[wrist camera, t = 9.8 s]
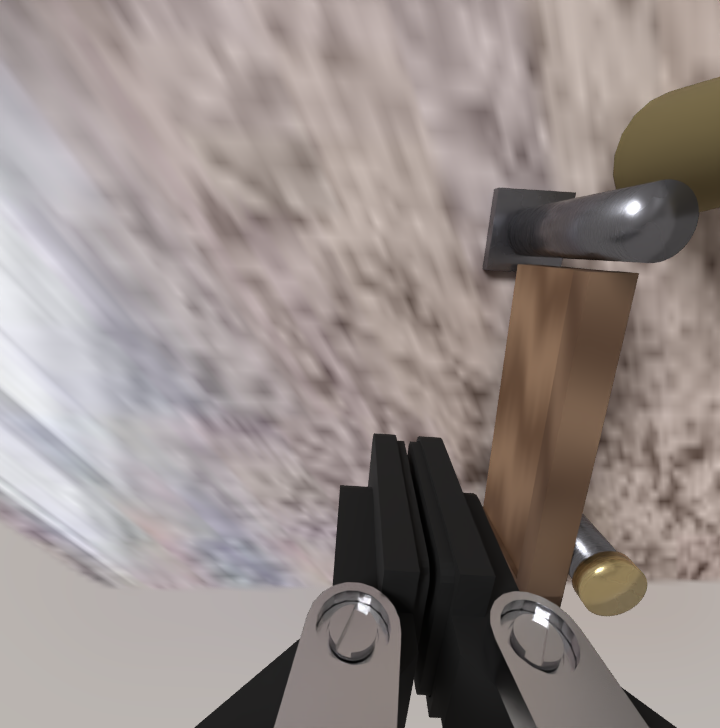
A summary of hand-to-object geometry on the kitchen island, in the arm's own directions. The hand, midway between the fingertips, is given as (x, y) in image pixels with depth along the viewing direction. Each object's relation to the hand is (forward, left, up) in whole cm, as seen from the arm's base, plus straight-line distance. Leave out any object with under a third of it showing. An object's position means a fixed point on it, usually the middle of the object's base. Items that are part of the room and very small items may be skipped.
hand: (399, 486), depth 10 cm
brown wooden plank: (-8, +3, -12) cm, 15 cm away
